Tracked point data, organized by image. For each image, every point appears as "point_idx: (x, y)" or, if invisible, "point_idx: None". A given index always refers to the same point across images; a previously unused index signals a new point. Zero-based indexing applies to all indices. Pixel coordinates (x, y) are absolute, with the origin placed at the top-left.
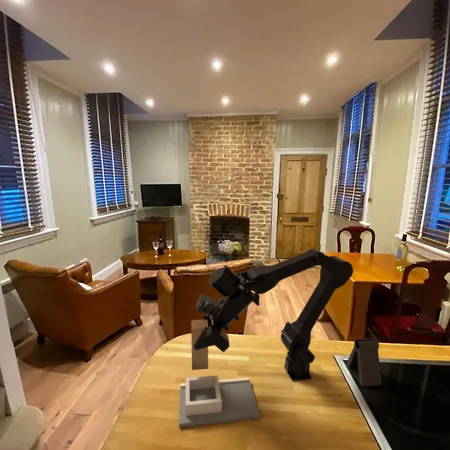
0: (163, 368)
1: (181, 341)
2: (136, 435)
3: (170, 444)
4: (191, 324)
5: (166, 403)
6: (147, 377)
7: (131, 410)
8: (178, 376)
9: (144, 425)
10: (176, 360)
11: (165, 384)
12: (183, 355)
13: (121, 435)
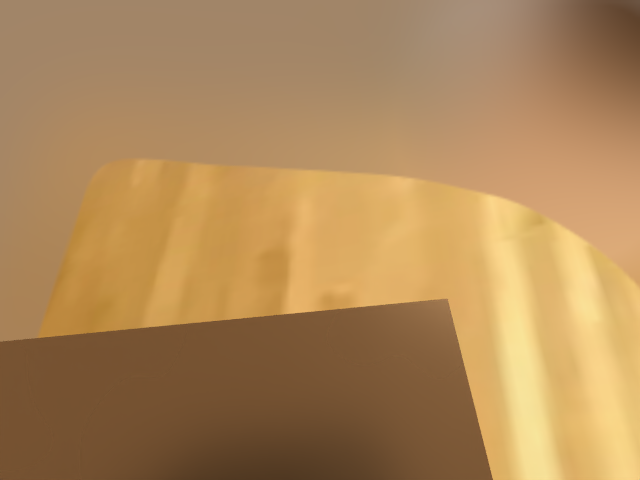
0: (402, 232)
1: (617, 280)
2: (107, 215)
3: (43, 328)
4: (183, 325)
5: (215, 281)
6: (347, 185)
7: (202, 176)
8: (358, 305)
9: (137, 228)
10: (462, 278)
11: (311, 258)
12: (505, 307)
13: (119, 176)
